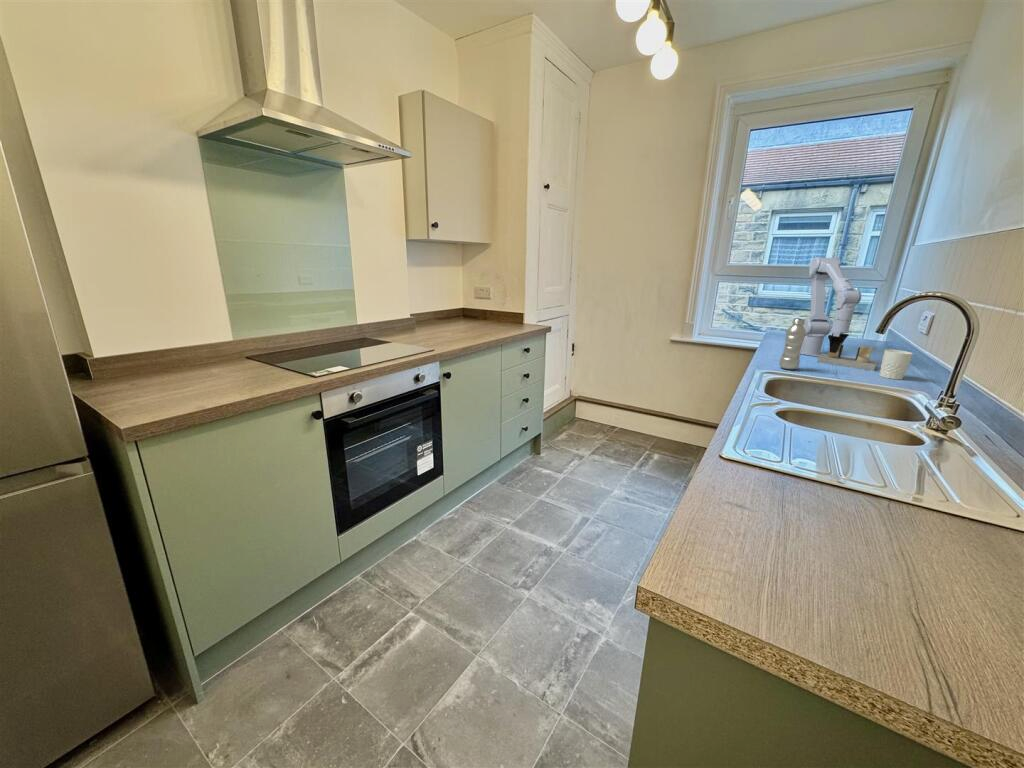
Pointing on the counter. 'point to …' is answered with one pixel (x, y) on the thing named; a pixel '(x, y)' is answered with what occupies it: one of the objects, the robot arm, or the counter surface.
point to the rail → (847, 362)
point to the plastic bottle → (793, 344)
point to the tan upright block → (863, 354)
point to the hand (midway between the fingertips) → (834, 351)
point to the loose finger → (838, 353)
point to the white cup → (895, 363)
